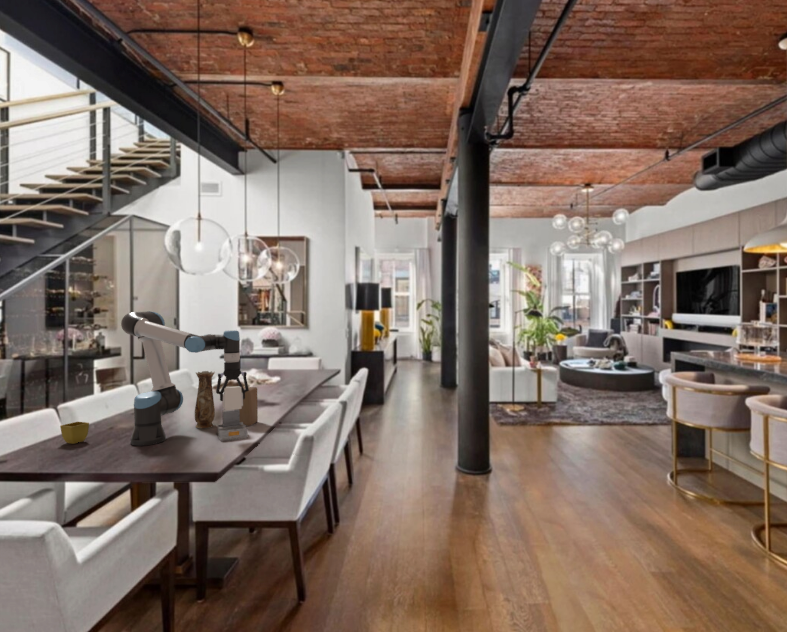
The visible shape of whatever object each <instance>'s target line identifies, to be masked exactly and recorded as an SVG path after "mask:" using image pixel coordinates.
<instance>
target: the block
mask: <svg viewBox="0 0 787 632" xmlns="http://www.w3.org/2000/svg"><path fill="white" fill-rule="evenodd" d="M243 388H244V389H245V386H243ZM248 389H249V391H247V392H245V399H243V406H242V409H239V411H240V422H243V425H244V424H245V427H246V426H247V427H248V426H249V427H251V426H252V425H254V424H256V423H257V422H258V419H259V418H258V416H259V415H258V413H259V412H258V410H259V409H258V387H256V386H255V387H254V386H248ZM241 392H242V390H241Z"/></svg>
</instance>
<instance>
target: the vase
mask: <svg viewBox="0 0 787 632" xmlns="http://www.w3.org/2000/svg"><path fill="white" fill-rule="evenodd" d="M215 373H216V372H215V371H209V370H203V371H198V372H195V374H196V377H197V378H198V385H197V387H198V388H197V393H196V402H195V406H194V419H195V420H194V421H195V423H196V425H195V428H197V429H207V428H212V427H213V426H214V425H213V422H214V420H215V415H216V413H215V412H216V410H215V403H214V402H215V401H214V395H213V393H214V392H213V381H212V380H213V377H214V374H215Z"/></svg>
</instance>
